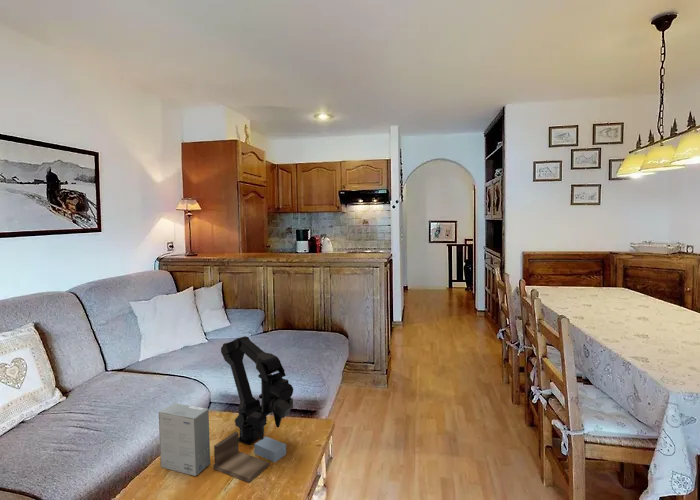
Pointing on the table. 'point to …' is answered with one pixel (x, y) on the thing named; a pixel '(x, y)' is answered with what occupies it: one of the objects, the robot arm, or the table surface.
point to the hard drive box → (184, 438)
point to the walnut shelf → (236, 460)
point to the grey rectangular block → (270, 449)
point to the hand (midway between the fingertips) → (269, 433)
